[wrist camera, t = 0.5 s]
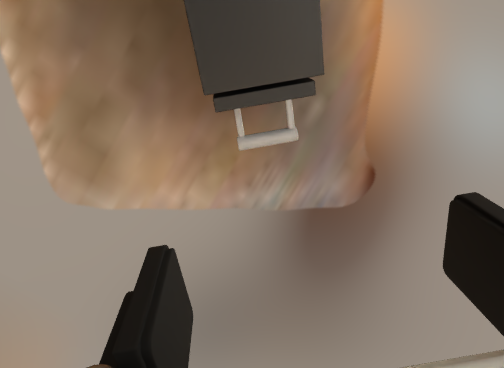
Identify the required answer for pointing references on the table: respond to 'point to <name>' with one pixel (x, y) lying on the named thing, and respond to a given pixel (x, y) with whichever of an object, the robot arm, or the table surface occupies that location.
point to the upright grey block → (255, 42)
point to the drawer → (264, 96)
